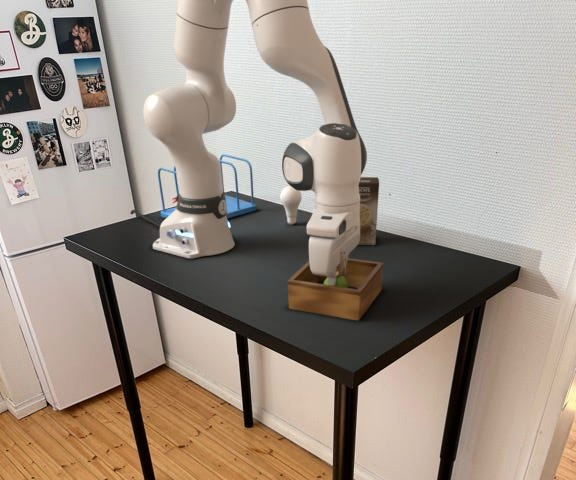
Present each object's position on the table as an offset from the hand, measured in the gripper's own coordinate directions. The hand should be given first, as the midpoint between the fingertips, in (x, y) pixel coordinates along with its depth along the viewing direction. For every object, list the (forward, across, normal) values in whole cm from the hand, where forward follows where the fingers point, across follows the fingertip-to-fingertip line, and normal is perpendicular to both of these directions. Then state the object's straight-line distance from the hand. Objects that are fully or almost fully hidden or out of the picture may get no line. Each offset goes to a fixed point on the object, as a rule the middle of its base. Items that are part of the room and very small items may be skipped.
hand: (336, 279), depth 118 cm
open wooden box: (+5, 0, 0) cm, 5 cm away
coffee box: (+5, -36, -7) cm, 37 cm away
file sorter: (+5, -43, -59) cm, 73 cm away
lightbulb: (+5, -42, -30) cm, 52 cm away
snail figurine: (+5, 0, 0) cm, 5 cm away
